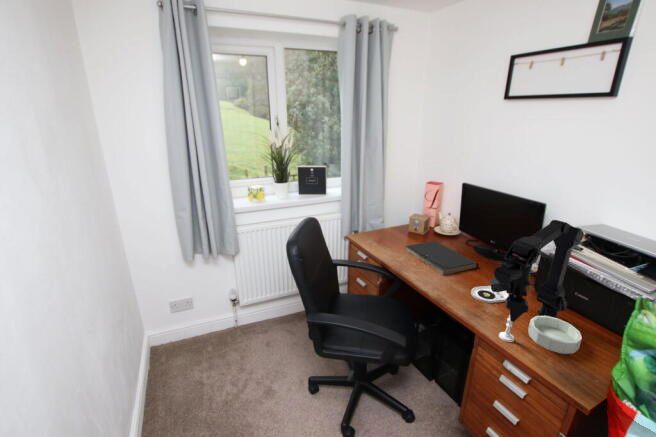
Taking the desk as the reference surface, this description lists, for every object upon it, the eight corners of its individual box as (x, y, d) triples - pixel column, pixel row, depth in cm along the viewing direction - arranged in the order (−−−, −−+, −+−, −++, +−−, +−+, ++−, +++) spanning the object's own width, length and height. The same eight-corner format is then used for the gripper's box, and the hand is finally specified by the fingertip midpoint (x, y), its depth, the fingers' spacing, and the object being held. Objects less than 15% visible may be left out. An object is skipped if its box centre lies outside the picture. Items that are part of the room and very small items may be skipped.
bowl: (527, 321, 124) (529, 311, 122) (573, 332, 117) (576, 322, 116) (530, 344, 111) (532, 334, 110) (582, 359, 105) (585, 348, 103)
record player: (523, 294, 137) (481, 298, 135) (522, 300, 138) (480, 305, 136) (505, 281, 148) (466, 285, 146) (504, 286, 149) (465, 290, 147)
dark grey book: (405, 245, 187) (437, 240, 196) (404, 251, 189) (436, 246, 197) (442, 269, 158) (478, 261, 167) (442, 276, 160) (477, 268, 168)
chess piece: (509, 333, 117) (513, 310, 114) (517, 342, 113) (522, 318, 110) (496, 333, 117) (500, 310, 114) (503, 342, 113) (508, 319, 109)
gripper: (493, 260, 118) (487, 295, 123) (493, 282, 102) (485, 322, 107) (528, 266, 113) (520, 302, 118) (532, 291, 98) (523, 332, 103)
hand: (511, 314), depth 112 cm, fingers open, 9 cm apart
